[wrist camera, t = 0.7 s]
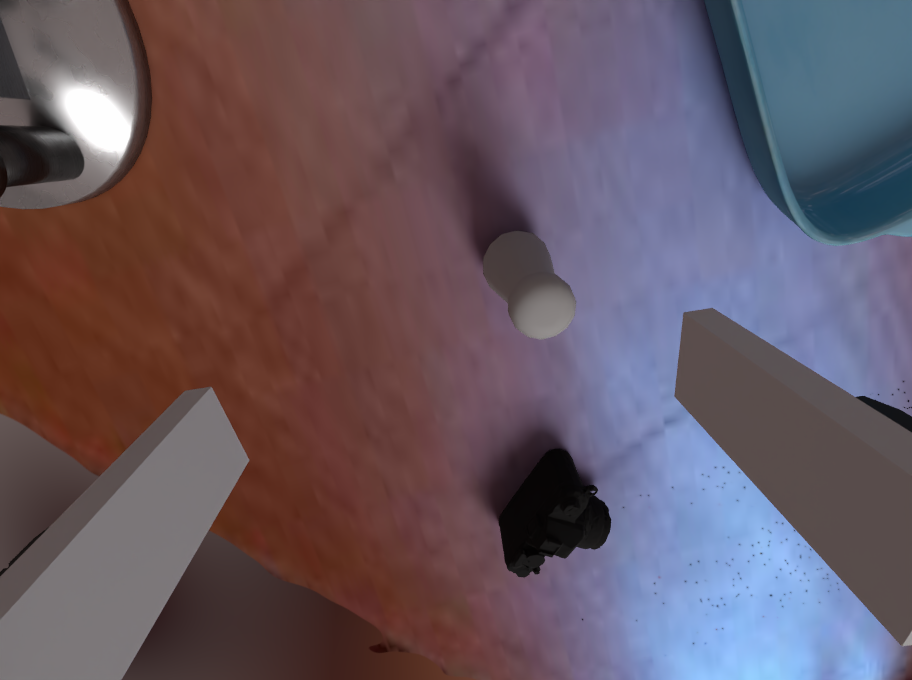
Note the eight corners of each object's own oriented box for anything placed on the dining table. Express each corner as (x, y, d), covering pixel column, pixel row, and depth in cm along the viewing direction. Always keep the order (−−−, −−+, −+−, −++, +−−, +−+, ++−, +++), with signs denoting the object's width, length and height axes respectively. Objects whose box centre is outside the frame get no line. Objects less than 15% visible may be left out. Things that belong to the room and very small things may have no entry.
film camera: (551, 541, 55) (571, 610, 47) (489, 522, 52) (498, 591, 44) (618, 463, 49) (653, 528, 41) (550, 438, 47) (574, 500, 39)
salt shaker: (480, 226, 35) (501, 269, 24) (545, 223, 36) (597, 265, 24) (480, 289, 38) (499, 356, 26) (541, 287, 38) (586, 352, 27)
